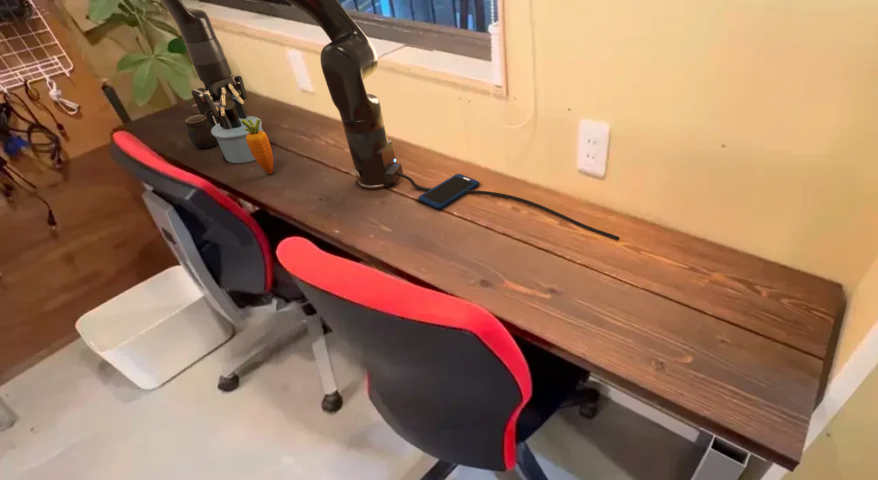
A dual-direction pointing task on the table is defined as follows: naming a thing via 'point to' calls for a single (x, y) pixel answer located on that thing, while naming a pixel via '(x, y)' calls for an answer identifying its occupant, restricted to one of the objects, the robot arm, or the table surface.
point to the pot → (236, 149)
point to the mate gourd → (200, 131)
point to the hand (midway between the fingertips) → (235, 123)
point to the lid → (233, 125)
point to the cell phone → (448, 191)
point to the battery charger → (211, 119)
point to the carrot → (259, 145)
